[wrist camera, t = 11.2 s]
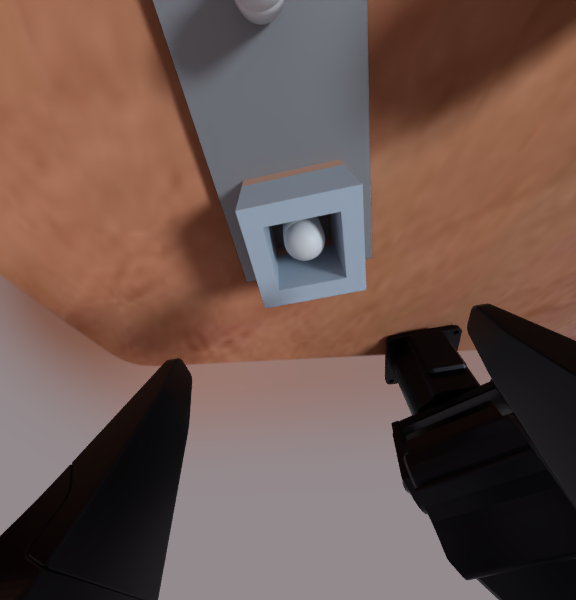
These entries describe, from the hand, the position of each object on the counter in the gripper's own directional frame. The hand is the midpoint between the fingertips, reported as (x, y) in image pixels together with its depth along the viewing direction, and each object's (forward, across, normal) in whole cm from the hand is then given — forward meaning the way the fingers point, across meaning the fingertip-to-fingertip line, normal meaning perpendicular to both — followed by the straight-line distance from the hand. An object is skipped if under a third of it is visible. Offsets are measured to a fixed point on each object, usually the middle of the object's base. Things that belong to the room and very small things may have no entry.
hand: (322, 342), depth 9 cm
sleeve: (+11, 0, 0) cm, 11 cm away
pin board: (+12, 0, -5) cm, 13 cm away
